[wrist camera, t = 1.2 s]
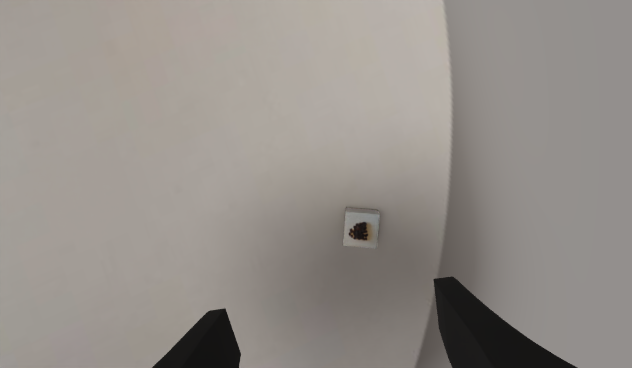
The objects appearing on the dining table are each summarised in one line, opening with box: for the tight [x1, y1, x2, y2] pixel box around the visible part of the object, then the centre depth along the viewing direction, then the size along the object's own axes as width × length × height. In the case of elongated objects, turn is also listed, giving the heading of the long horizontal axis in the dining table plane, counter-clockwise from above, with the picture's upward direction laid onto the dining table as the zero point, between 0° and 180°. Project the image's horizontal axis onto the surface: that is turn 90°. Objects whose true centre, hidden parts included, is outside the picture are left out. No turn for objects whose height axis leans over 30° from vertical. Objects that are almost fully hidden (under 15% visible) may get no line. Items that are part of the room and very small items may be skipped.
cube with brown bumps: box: [343, 207, 380, 249], centre depth 24 cm, size 2×2×2 cm
